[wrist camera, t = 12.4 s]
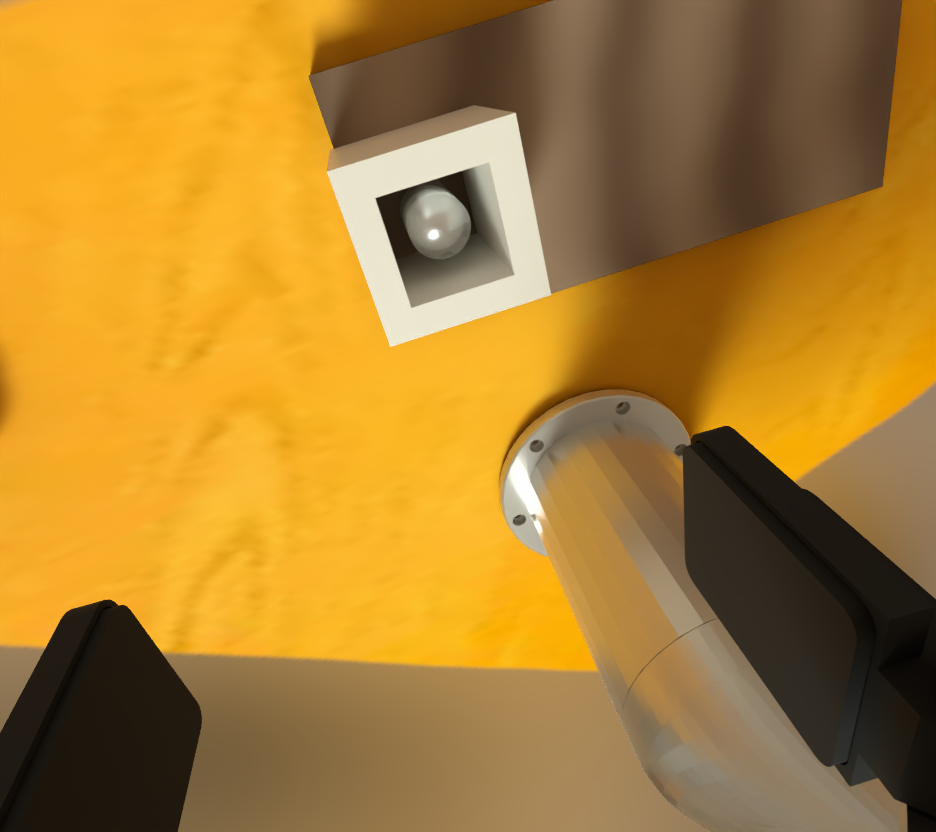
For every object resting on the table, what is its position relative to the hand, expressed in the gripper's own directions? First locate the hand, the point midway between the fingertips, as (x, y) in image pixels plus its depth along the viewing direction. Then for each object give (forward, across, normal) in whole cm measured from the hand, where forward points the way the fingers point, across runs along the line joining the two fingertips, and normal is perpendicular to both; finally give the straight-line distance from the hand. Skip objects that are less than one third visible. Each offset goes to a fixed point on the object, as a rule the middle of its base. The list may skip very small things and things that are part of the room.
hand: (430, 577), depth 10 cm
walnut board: (+22, -13, -3) cm, 26 cm away
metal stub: (+21, -3, -2) cm, 21 cm away
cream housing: (+21, -3, -2) cm, 21 cm away
